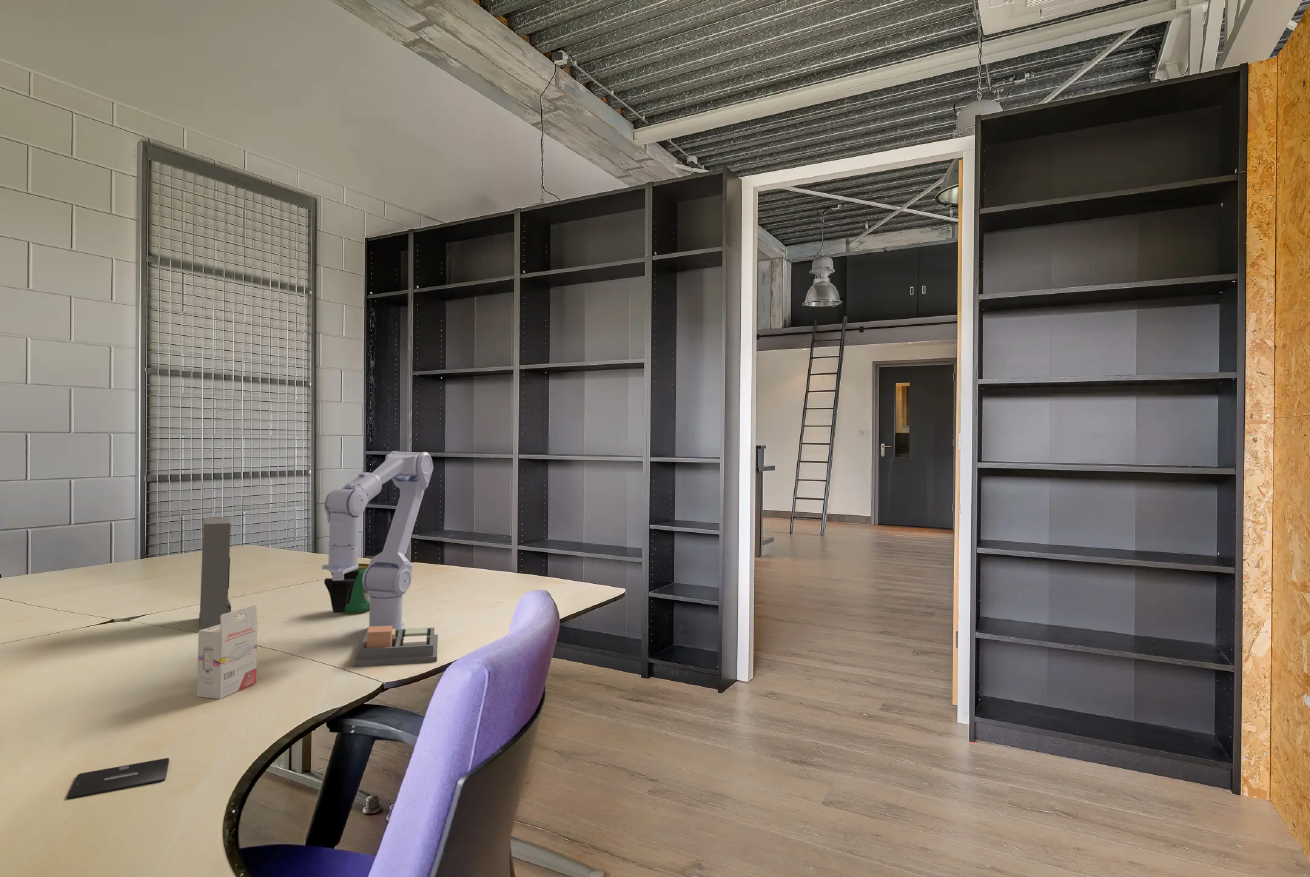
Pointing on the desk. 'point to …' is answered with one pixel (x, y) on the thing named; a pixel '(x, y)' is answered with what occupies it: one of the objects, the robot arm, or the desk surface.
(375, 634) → the terracotta block
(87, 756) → the desk surface
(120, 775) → the solid state drive
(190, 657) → the desk surface
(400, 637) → the frame board
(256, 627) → the ink cartridge box
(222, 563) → the tall grey upright panel
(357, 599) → the beverage can
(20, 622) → the desk surface
